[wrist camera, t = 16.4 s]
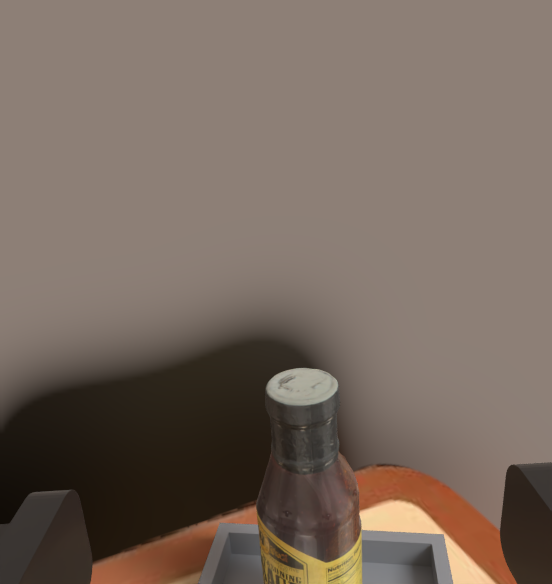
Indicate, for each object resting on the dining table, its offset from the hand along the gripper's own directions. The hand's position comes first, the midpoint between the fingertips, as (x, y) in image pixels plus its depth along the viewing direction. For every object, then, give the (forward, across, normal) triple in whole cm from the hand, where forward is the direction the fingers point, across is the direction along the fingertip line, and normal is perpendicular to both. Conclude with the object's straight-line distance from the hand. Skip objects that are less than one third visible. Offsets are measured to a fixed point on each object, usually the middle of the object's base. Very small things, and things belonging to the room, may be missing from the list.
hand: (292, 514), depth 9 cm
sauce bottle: (+17, -1, +27) cm, 31 cm away
